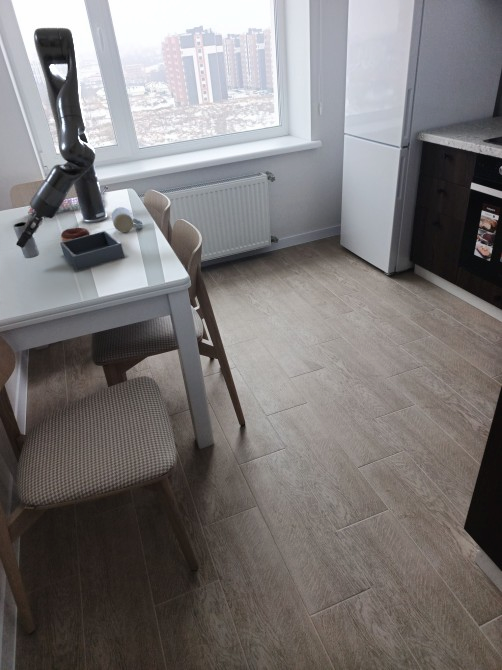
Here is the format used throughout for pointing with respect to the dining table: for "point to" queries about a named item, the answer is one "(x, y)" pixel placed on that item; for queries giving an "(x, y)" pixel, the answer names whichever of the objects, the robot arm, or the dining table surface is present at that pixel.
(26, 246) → the white and black tumbler
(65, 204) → the multicolour bumpy slab
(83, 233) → the donut
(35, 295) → the dining table surface
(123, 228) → the ceramic mug
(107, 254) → the dark grey open tray
